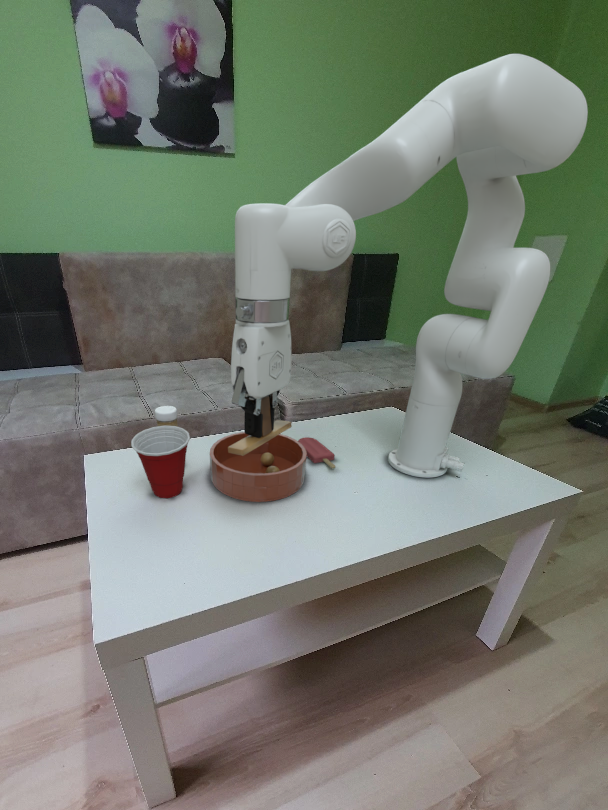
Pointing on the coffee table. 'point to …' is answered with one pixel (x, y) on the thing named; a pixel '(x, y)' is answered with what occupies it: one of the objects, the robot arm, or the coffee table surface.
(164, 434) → the plastic cup
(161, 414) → the sprinkles bottle
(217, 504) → the coffee table surface
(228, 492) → the bowl
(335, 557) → the coffee table surface
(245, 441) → the stirrer
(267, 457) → the bead
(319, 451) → the popsicle
